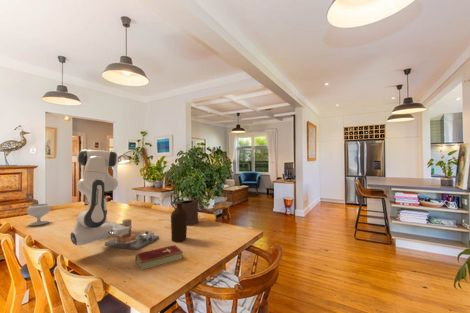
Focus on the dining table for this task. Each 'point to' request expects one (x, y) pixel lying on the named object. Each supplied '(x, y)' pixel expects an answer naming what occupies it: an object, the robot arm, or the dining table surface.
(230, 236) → the dining table surface
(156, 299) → the dining table surface
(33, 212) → the chalice
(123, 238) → the gear
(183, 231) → the olive oil
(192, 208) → the cup holder
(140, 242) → the carrier plate
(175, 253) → the hardcover book
